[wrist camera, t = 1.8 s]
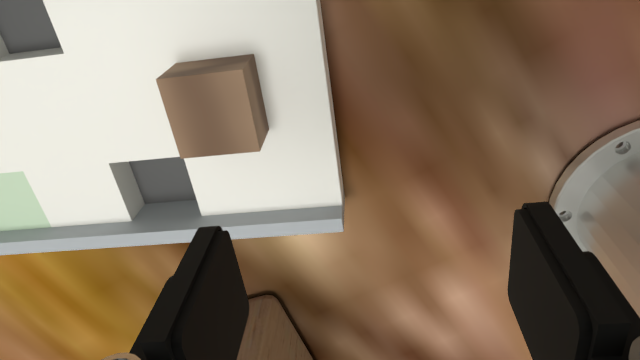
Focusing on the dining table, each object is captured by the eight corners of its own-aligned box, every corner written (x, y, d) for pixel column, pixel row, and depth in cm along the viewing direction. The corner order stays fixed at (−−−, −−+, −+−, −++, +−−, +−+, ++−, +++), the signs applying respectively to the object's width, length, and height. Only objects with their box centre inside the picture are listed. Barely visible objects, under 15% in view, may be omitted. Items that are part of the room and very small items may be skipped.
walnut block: (254, 53, 25) (242, 69, 22) (269, 129, 27) (260, 151, 25) (176, 63, 26) (155, 79, 23) (197, 136, 28) (180, 158, 25)
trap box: (307, -99, 23) (299, -102, 20) (344, 198, 32) (343, 231, 29) (-147, -27, 27) (-221, -19, 23) (-2, 224, 35) (-40, 257, 32)
